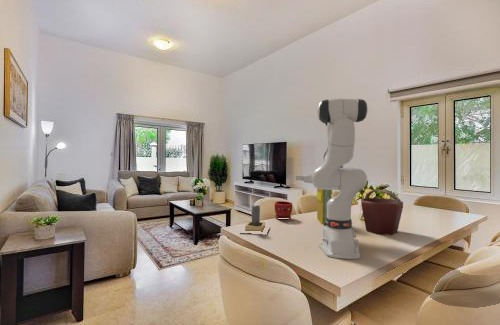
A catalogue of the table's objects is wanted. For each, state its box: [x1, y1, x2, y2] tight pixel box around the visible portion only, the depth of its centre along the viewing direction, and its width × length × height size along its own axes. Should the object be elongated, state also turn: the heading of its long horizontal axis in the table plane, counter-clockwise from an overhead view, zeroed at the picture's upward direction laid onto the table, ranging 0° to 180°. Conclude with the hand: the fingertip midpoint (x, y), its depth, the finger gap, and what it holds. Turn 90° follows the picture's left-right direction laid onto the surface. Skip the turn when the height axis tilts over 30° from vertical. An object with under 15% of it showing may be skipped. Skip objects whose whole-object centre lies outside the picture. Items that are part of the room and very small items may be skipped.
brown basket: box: [360, 189, 404, 236], centre depth 150 cm, size 24×22×25 cm
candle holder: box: [244, 221, 266, 232], centre depth 151 cm, size 16×16×4 cm
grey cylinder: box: [251, 204, 261, 226], centre depth 151 cm, size 5×5×14 cm
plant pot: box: [274, 200, 293, 219], centre depth 183 cm, size 13×13×12 cm
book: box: [316, 188, 333, 225], centre depth 174 cm, size 17×7×25 cm, turn 179°
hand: (295, 178), depth 154 cm, fingers open, 8 cm apart
